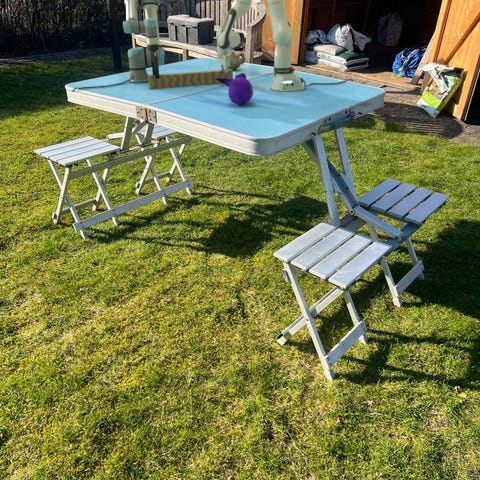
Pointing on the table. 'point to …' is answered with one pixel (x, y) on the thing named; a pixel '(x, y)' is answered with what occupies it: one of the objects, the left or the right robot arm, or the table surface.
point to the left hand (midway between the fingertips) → (156, 76)
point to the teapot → (236, 60)
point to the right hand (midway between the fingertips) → (224, 71)
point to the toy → (238, 89)
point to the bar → (188, 79)
